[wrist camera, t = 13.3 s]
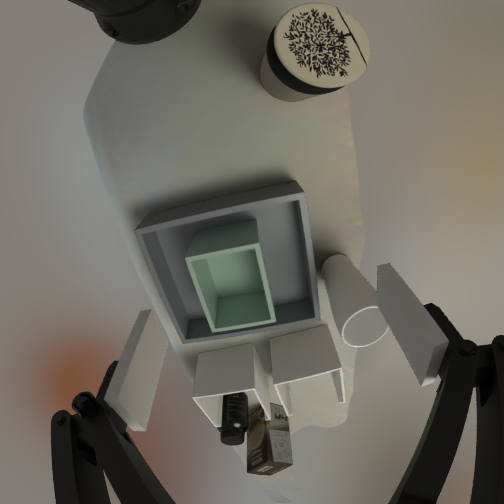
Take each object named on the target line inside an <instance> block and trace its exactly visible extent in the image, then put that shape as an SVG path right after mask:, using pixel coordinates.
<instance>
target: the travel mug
mask: <svg viewBox="0 0 504 504" xmlns="http://www.w3.org/2000/svg"><path fill="white" fill-rule="evenodd" d="M369 56H370V47H369V42H368V39H367V36H366V34H365V32H364V30H363V28H362V27H361V25H360V24H359V23H358V22H357V21H356V20H355V19H354V18H353V17H352V16H351V15H349V14H348V13H347V12H345V11H343V10H342V9H340V8H337V7H335V6H332V5H329V4H325V3H305V4H301V5H298V6H296V7H293V8H292V9H290V10H289V11H287V12H286V13H285V14H284V15H283V16H282V17H281V18H280V20H279V21H278V23H277V25H276V26H275V27H274V29H273V30H272V32H271V34H270V37H269V40H268V43H267V46H266V50H265V53H264V56H263V60H262V63H261V66H260V79H261V82H262V84H263V86H264V88H265V89H266V90H267V91H268V92H269V93H270V94H271V95H272V96H274V97H275V98H277V99H280V100H283V101H288V102H296V101H301V100H304V99H308V98H311V97H315V96H318V95H322V94H326V93H330V92H333V91H336V90H338V89H340V88H342V87H344V86H345V85H347V84H350V83H352V82H353V81H355V80H356V79H357V78H359V77H360V76H361V74H362V73H363V72H364V70H365V69H366V67H367V64H368V61H369Z"/></svg>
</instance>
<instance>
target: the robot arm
mask: <svg viewBox="0 0 504 504" xmlns="http://www.w3.org/2000/svg"><path fill="white" fill-rule="evenodd" d="M68 1H71V2H73V3H75V4H77V5H79V6H81V7H83V8H85V9H87V10H89V11H91V12H93V13H94V15H95V17H96V19H97V22H98V24H99V26H100V27H101V29H102V30H103V31H104V32H105V33H106V34H107V35H108V36H110V37H112V38H114V39H116V40H118V41H120V42H123V43H127V44H147V43H151V42H155V41H158V40H161V39H163V38H165V37H167V36H169V35H171V34H173V33H174V32H176V31H177V30H179V29H180V28H181V27H183V26H184V25H185V24H186V23H187V22H188V21H189V20H190V19H191V18H192V16H193V15H194V14H195V12H196V11H197V9H198V7H199V5H200V2H201V0H68ZM376 305H377V306H378V308H379V310H380V312H381V313H382V315H383V317H384V318H385V320H386V322H387V324H388V325H389V327H390V329H391V330H392V332H393V334H394V336H395V338H396V339H397V341H398V343H399V345H400V346H401V349H402V350H403V352H404V354H405V356H406V358H407V360H408V361H409V363H410V365H411V367H412V369H413V371H414V373H415V375H416V377H417V379H418V381H419V383H420V385H421V387H422V386H425V385H427V384H430V383H432V382H435V380H436V377H437V375H438V374H439V376H440V378H441V382H440V384H439V387H438V389H437V391H436V392H437V395H436V398H435V401H434V404H433V407H432V410H431V413H430V415H429V418H428V421H427V423H426V426H425V429H424V431H423V434H422V436H421V439H420V441H419V443H418V446H417V448H416V450H415V453H414V455H413V458H412V459H411V461H410V464H409V466H408V468H407V470H406V472H405V474H404V476H403V478H402V480H401V482H400V484H399V485H398V487H397V489H396V491H395V493H394V495H393V496H392V498H391V500H390V502H389V503H388V504H436V502H437V499H438V496H439V494H440V492H441V490H442V487H443V485H444V483H445V480H446V478H447V475H448V473H449V470H450V468H451V465H452V462H453V460H454V457H455V454H456V451H457V448H458V445H459V442H460V439H461V435H462V432H463V428H464V425H465V421H466V417H467V413H468V409H469V405H470V401H471V396H472V391H473V388H474V387H476V401H477V442H476V459H475V471H474V480H473V488H472V495H471V500H470V504H504V335H499V336H496V337H495V338H494V339H493V341H492V344H488V345H480V346H477V345H476V344H475V343H474V342H473V341H470V340H464V339H463V338H462V336H461V335H460V334H459V332H458V331H457V330H456V328H455V327H454V326H453V324H452V323H451V322H450V321H449V320H448V318H447V317H446V316H445V315H444V313H443V312H442V310H441V309H440V308H439V307H437V306H436V305H434V304H433V303H429V304H426V305H422V303H421V302H420V301H419V299H418V298H417V297H416V295H415V294H414V293H413V292H412V290H411V289H410V288H409V287H408V285H407V284H406V283H405V282H404V280H403V279H402V278H401V277H400V276H399V274H398V273H397V272H396V271H395V269H394V268H393V267H392V266H391V265H390V263H388V264H383V265H379V266H377V301H376ZM167 346H168V341H167V339H166V337H165V335H164V333H163V331H162V329H161V327H160V325H159V323H158V321H157V319H156V317H155V315H154V313H153V311H152V309H150V310H144V311H140V313H139V315H138V318H137V320H136V322H135V324H134V327H133V329H132V331H131V333H130V336H129V338H128V341H127V343H126V345H125V347H124V350H123V352H122V354H121V357H120V359H119V361H114V362H113V363H112V364H111V365H110V366H109V368H108V370H107V372H106V374H105V377H104V379H103V382H102V384H101V386H100V389H99V392H98V394H97V396H96V398H95V397H94V396H93V395H92V394H91V393H90V392H82V393H79V394H78V395H77V396H76V397H75V398H74V399H73V402H72V408H73V409H74V411H75V412H76V413H77V414H75V415H70V414H69V412H68V411H66V410H60V411H58V412H57V413H55V414H54V416H53V417H52V420H51V450H52V451H51V452H52V470H53V482H54V491H55V499H56V504H111V502H110V499H109V494H108V490H107V486H106V482H105V477H104V472H105V474H106V476H107V478H108V480H109V482H110V483H111V485H112V487H113V489H114V491H115V493H116V494H117V497H118V498H119V500H120V502H121V504H176V503H175V502H174V501H173V499H172V498H171V497H170V495H169V494H168V493H167V491H166V490H165V489H164V487H163V486H162V485H161V483H160V482H159V481H158V479H157V478H156V476H155V475H154V473H153V472H152V470H151V469H150V467H149V466H148V464H147V463H146V461H145V460H144V458H143V457H142V455H141V453H140V452H139V450H138V449H137V447H136V446H135V444H134V442H133V440H132V439H131V437H130V435H129V433H128V432H127V431H126V427H127V425H128V426H129V427H130V428H131V429H132V430H133V431H146V428H147V424H148V419H149V415H150V411H151V407H152V403H153V399H154V395H155V391H156V387H157V383H158V380H159V375H160V372H161V368H162V364H163V361H164V357H165V354H166V350H167ZM103 470H104V472H103Z"/></svg>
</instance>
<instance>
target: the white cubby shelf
mask: <svg viewBox="0 0 504 504" xmlns="http://www.w3.org/2000/svg"><path fill="white" fill-rule="evenodd" d="M269 342H270V352H271V362H272V373H273V383H274V386H275V389H276V391H277V394H278V396H279V398H280V401H281V403H282V405H283V408H284V410H285V412H286V415H287V416H292V415H293V410H292V403H291V395H290V388H289V382H293V381H298V380H302V379H306V378H310V377H314V376H318V375H322V374H325V373H329V372H331V374H332V378H333V381H334V385H335V388H336V392H337V396H338V399H339V403H340V404H341V403H344V402H345V391H344V382H343V373H342V366H341V363H340V360H339V357H338V354H337V351H336V348H335V345H334V342H333V339H332V336H331V333H330V330H329V328H328V325H327V324H326V325H323V326H319V327H315V328H312V329H308V330H304V331H300V332H296V333H292V334H289V335H284V336H280V337H276V338H272V339H269ZM250 390H254V392H255V394H256V396H257V398H258V400H259V402H260V404H261V406H262V407H263V409H264V414H265V421H266V420H271V410H270V398H269V385H268V377H267V374H266V372H265V370H264V367H263V365H262V362H261V360H260V358H259V355H258V353H257V351H256V348H255V346H254V343H250V344H246V345H241V346H236V347H231V348H226V349H221V350H216V351H211V352H205V353H200V354H199V355H198V361H197V368H196V374H195V381H194V387H193V395H192V398H193V400H194V401H195V402H196V403H197V405H198V406H199V407H200V408H201V410H202V411H203V412H204V413H205V415H206V416H207V417H208V418H209V420H210V421H211V422H212V423H213V425H214V426H215V427H221V422H222V403H223V395H225V394H232V393H238V392H244V391H250Z"/></svg>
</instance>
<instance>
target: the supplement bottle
mask: <svg viewBox="0 0 504 504" xmlns="http://www.w3.org/2000/svg"><path fill="white" fill-rule="evenodd" d="M248 428H249V415H248V397H247V395H246V394H245V393H244V392H238V393H232V394H225V395H223V403H222V422H221V427H217V429H218V430H219V432H221V433H220V436H221V442H222V443H224V444H226V445H240V444H242V443H243V442H244V436H245V434H244V433H245V432H246V431H247V430H248Z"/></svg>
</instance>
